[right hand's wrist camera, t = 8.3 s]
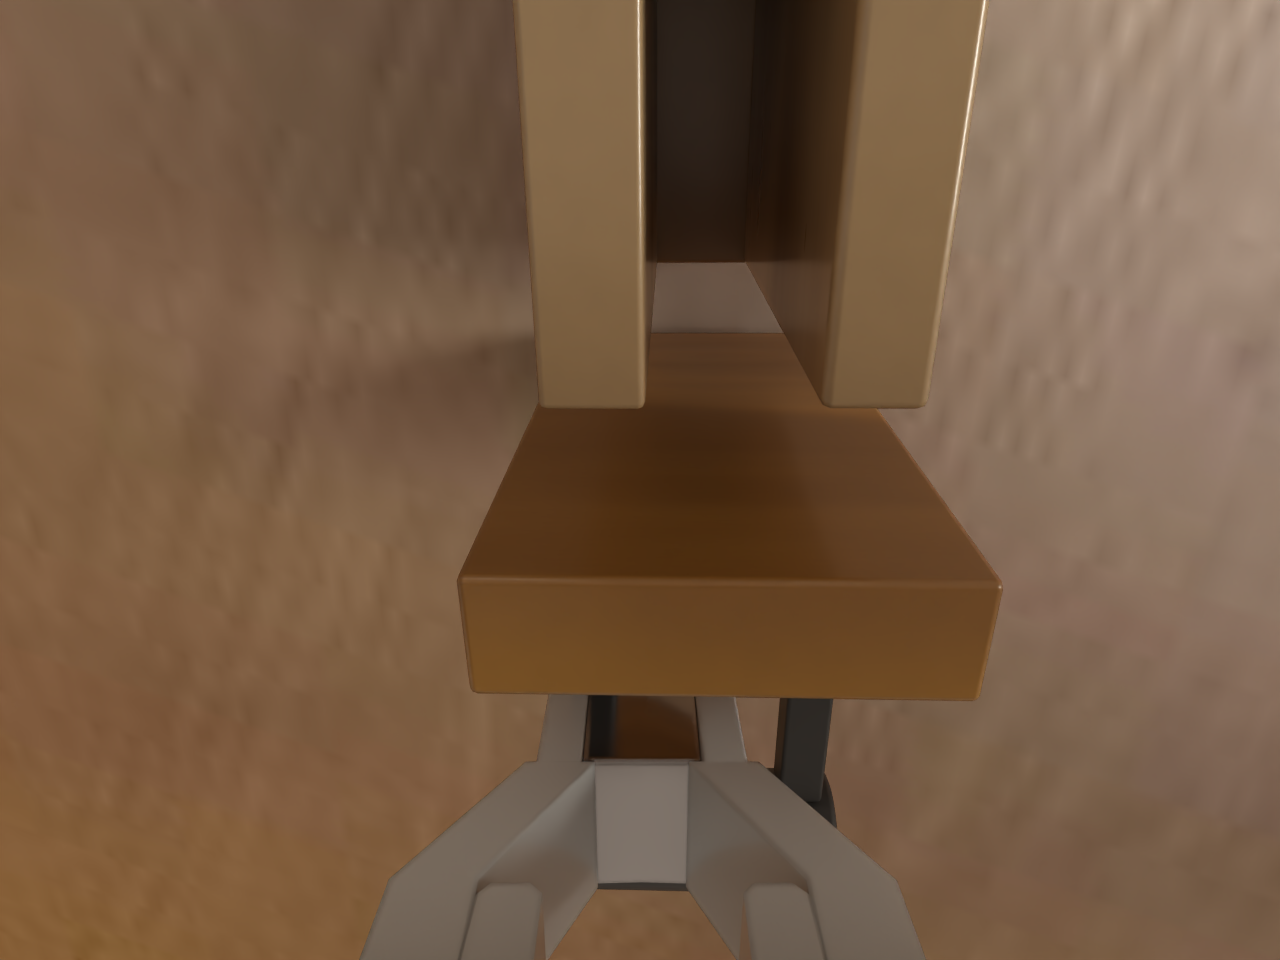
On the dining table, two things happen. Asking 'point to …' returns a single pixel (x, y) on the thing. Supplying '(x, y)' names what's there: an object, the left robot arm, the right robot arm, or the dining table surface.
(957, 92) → the drawer
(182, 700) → the dining table surface
